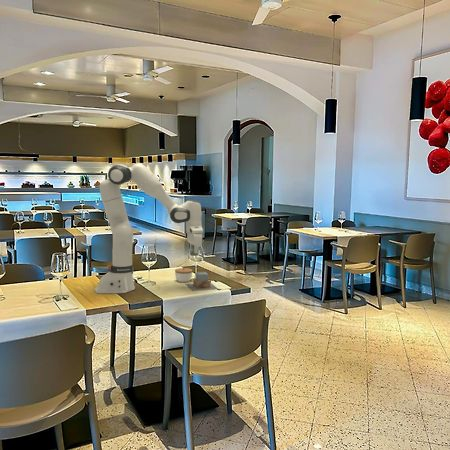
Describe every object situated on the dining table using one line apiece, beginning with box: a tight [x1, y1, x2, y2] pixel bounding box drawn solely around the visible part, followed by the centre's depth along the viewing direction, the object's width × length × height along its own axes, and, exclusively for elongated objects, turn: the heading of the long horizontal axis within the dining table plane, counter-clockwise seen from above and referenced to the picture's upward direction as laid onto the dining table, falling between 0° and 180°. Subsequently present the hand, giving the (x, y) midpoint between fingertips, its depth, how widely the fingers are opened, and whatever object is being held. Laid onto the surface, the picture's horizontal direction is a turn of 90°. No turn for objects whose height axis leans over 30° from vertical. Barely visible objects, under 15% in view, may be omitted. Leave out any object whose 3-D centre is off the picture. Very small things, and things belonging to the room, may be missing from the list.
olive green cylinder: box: [189, 246, 200, 257], centre depth 249 cm, size 5×5×5 cm
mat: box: [185, 282, 219, 292], centre depth 256 cm, size 16×16×1 cm
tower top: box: [194, 271, 209, 282], centre depth 255 cm, size 6×6×4 cm
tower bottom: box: [192, 278, 211, 289], centre depth 256 cm, size 8×8×4 cm
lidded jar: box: [174, 266, 193, 283], centre depth 268 cm, size 11×11×9 cm
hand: (194, 252), depth 250 cm, fingers closed on olive green cylinder, 5 cm apart
